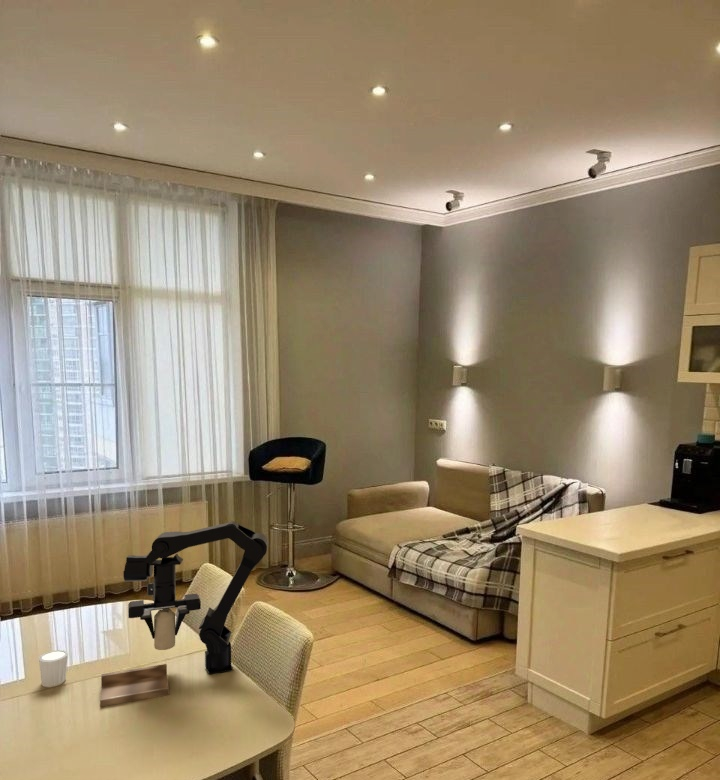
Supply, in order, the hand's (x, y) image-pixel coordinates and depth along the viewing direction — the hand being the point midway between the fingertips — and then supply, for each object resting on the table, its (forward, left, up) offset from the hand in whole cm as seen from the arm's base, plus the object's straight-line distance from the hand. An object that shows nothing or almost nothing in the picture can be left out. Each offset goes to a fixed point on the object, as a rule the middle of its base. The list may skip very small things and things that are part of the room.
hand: (164, 636), depth 167 cm
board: (+8, +10, -9) cm, 15 cm away
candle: (0, 0, -3) cm, 3 cm away
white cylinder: (+28, -4, -10) cm, 30 cm away
